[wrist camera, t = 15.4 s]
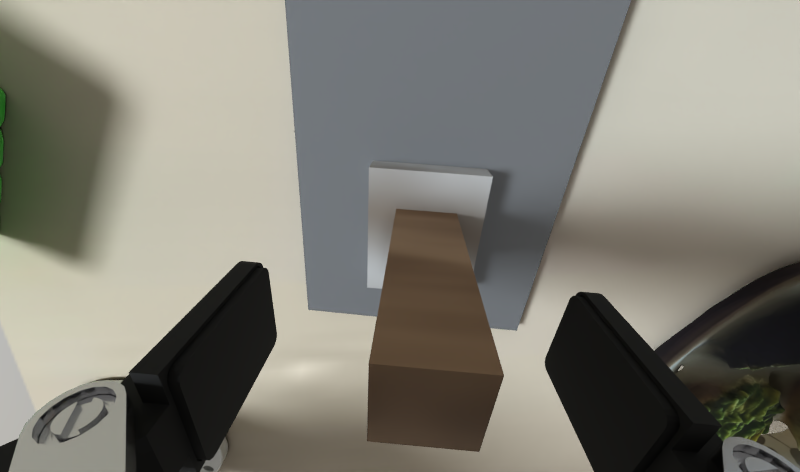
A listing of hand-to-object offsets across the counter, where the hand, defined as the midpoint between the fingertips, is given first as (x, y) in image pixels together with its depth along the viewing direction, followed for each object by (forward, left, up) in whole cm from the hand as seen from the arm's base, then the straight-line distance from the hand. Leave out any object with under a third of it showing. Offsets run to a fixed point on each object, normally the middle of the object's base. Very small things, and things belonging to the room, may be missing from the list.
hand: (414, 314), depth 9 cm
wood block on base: (0, 0, -6) cm, 6 cm away
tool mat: (+2, 0, -7) cm, 7 cm away
